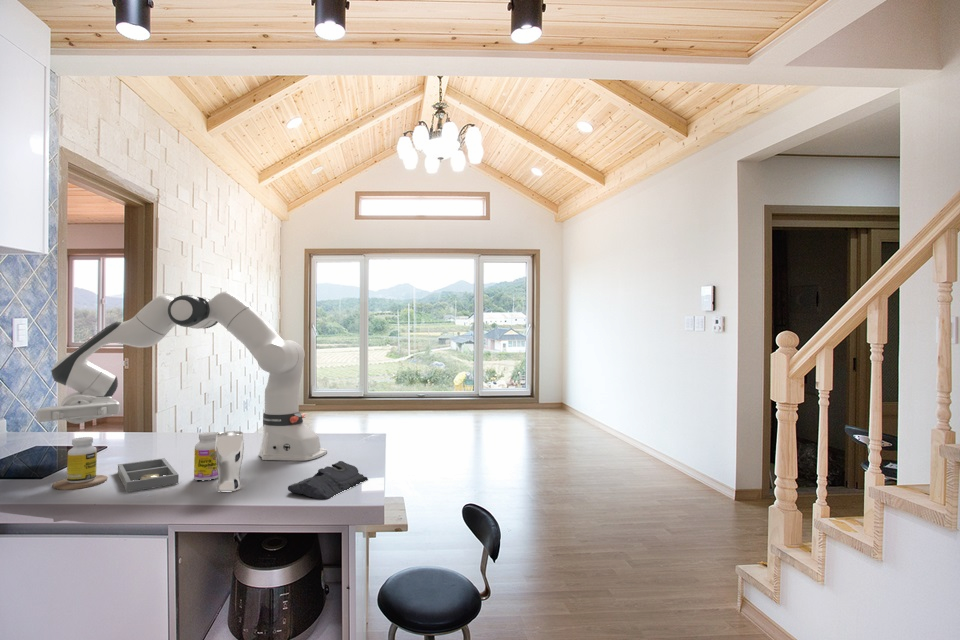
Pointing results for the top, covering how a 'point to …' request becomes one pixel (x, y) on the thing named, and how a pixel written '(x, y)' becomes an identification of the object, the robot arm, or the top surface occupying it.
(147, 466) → the parts tray
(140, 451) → the top surface
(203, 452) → the supplement bottle
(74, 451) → the pill bottle
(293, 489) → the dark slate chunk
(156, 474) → the gold dome knob
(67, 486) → the walnut coaster
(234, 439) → the shiny silver flared piece
